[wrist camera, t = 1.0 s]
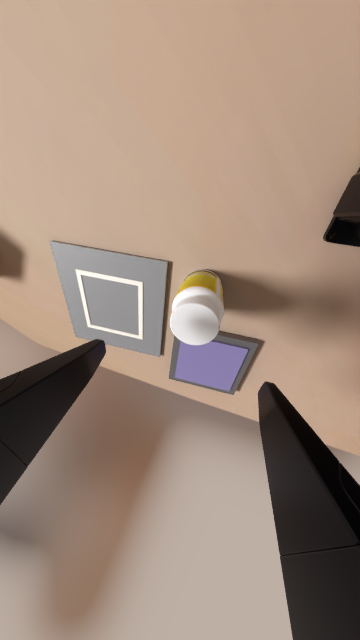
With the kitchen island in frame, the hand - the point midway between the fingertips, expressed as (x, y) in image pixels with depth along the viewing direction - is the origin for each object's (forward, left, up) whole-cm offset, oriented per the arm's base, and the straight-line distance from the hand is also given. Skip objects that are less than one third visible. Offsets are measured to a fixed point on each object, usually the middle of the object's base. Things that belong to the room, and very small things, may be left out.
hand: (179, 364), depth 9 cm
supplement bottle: (0, 0, -13) cm, 13 cm away
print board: (+12, +5, -13) cm, 18 cm away
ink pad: (-3, +11, -13) cm, 17 cm away
